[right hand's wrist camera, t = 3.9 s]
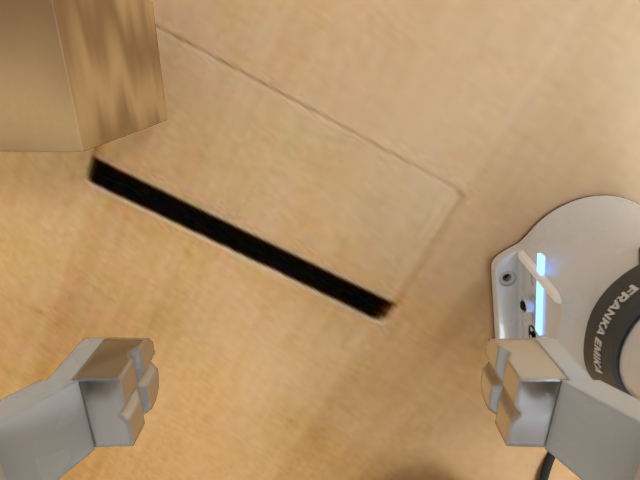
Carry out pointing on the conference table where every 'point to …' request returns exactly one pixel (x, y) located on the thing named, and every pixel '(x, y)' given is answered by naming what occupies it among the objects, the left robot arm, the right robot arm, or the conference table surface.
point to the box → (77, 73)
